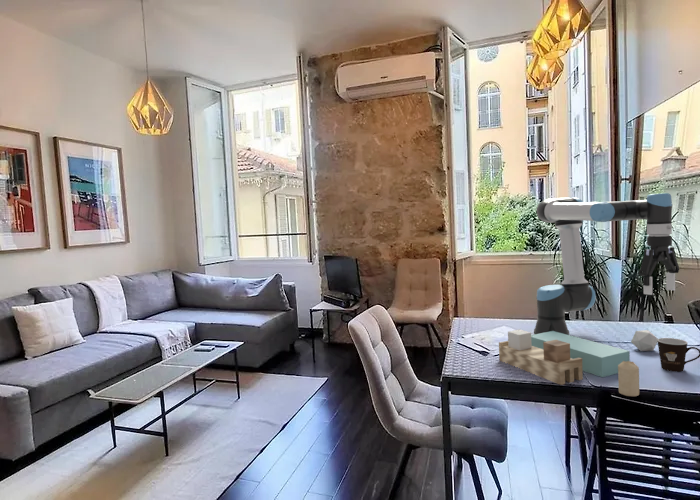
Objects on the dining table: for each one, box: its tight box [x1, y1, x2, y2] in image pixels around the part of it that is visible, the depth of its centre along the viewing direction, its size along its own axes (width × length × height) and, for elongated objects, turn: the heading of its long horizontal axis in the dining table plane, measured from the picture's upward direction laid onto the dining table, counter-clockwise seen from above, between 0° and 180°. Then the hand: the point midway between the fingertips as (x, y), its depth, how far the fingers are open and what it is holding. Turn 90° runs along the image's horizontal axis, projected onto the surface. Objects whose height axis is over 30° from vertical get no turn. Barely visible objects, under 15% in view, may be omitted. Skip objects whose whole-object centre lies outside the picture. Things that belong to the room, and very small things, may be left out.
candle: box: [617, 360, 640, 397], centre depth 137 cm, size 6×6×10 cm
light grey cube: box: [507, 328, 532, 350], centre depth 170 cm, size 6×6×6 cm
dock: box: [531, 331, 631, 378], centre depth 169 cm, size 34×14×7 cm, turn 22°
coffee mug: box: [657, 337, 700, 373], centre depth 153 cm, size 12×9×10 cm
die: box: [630, 329, 659, 352], centre depth 177 cm, size 8×9×10 cm
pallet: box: [498, 340, 584, 386], centre depth 162 cm, size 30×10×8 cm, turn 22°
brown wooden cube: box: [543, 340, 570, 363], centre depth 153 cm, size 6×6×6 cm
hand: (659, 292), depth 162 cm, fingers open, 13 cm apart
